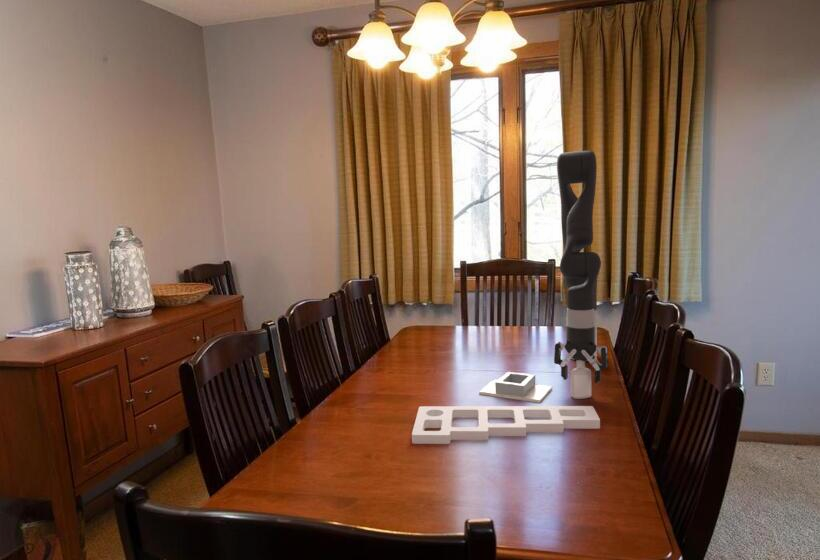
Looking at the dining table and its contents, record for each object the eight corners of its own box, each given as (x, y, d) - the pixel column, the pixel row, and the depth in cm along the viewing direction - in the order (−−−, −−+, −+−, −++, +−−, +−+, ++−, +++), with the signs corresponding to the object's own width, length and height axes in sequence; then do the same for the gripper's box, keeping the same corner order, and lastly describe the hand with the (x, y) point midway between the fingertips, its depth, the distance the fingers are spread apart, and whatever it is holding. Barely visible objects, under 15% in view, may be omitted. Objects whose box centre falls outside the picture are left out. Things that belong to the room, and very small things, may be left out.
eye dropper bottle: (591, 400, 151) (591, 358, 149) (569, 398, 153) (569, 357, 151) (591, 394, 155) (591, 353, 153) (571, 393, 157) (570, 352, 155)
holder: (592, 416, 142) (592, 406, 141) (609, 447, 124) (609, 435, 123) (419, 416, 147) (419, 406, 147) (412, 445, 129) (411, 434, 129)
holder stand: (494, 381, 170) (494, 369, 170) (552, 389, 161) (551, 376, 160) (479, 394, 160) (478, 380, 159) (539, 402, 151) (539, 388, 150)
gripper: (610, 323, 151) (609, 379, 153) (558, 319, 158) (558, 373, 160) (604, 329, 144) (604, 388, 147) (551, 325, 151) (551, 381, 154)
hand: (580, 380), depth 153 cm, fingers open, 8 cm apart
